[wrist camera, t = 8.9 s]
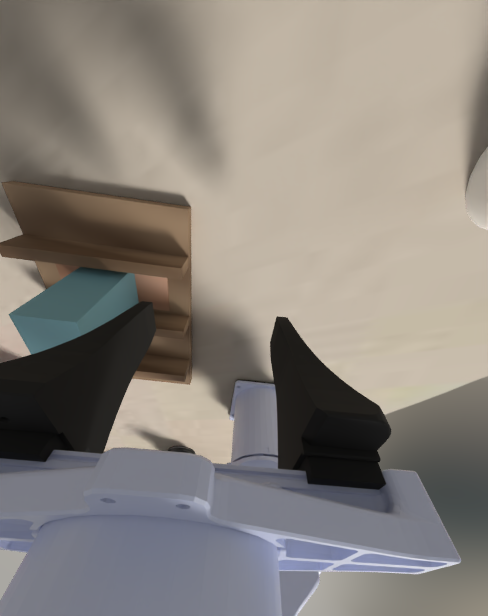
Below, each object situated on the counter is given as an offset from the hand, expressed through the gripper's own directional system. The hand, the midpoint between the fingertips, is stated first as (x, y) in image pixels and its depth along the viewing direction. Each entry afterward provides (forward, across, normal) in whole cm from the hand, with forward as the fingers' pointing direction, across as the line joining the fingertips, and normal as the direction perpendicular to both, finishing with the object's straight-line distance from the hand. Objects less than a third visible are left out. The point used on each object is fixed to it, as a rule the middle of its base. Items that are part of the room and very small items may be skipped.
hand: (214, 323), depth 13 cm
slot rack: (+9, +11, +7) cm, 16 cm away
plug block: (+8, +10, +3) cm, 14 cm away
